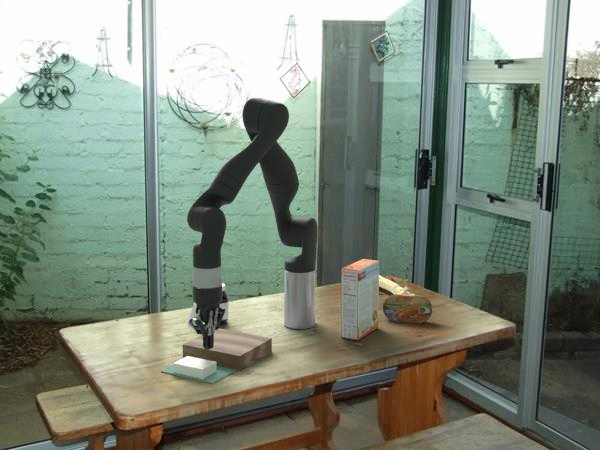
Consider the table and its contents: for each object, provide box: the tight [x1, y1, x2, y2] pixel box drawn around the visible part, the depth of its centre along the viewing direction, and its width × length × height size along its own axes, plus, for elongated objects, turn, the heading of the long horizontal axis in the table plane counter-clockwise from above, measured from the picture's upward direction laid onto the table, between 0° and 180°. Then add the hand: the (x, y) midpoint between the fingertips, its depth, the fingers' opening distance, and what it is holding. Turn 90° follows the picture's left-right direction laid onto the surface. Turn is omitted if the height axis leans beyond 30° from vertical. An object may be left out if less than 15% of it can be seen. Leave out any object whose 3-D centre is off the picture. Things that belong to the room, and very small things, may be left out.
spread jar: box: [188, 282, 230, 326], centre depth 240 cm, size 12×11×12 cm
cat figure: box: [379, 274, 416, 295], centre depth 274 cm, size 10×9×25 cm
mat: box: [160, 364, 237, 385], centre depth 200 cm, size 10×16×1 cm, turn 62°
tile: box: [172, 356, 217, 379], centre depth 199 cm, size 6×9×2 cm, turn 62°
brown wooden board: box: [182, 327, 273, 372], centre depth 211 cm, size 16×18×4 cm
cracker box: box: [340, 258, 380, 341], centre depth 229 cm, size 14×6×21 cm, turn 149°
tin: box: [382, 294, 433, 324], centre depth 242 cm, size 15×3×8 cm, turn 76°
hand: (208, 348), depth 203 cm, fingers closed
